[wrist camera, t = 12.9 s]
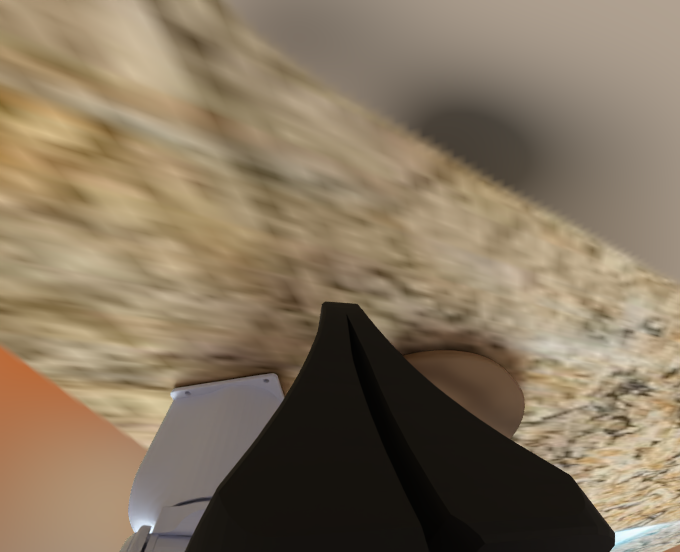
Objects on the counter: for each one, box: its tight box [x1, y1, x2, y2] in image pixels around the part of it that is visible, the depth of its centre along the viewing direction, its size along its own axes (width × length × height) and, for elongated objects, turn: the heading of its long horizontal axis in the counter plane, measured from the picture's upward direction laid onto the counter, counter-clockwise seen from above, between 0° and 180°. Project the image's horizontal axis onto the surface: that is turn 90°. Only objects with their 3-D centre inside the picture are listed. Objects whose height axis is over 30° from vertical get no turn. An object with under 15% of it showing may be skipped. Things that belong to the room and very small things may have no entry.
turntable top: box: [403, 350, 525, 439], centre depth 27 cm, size 23×23×4 cm
